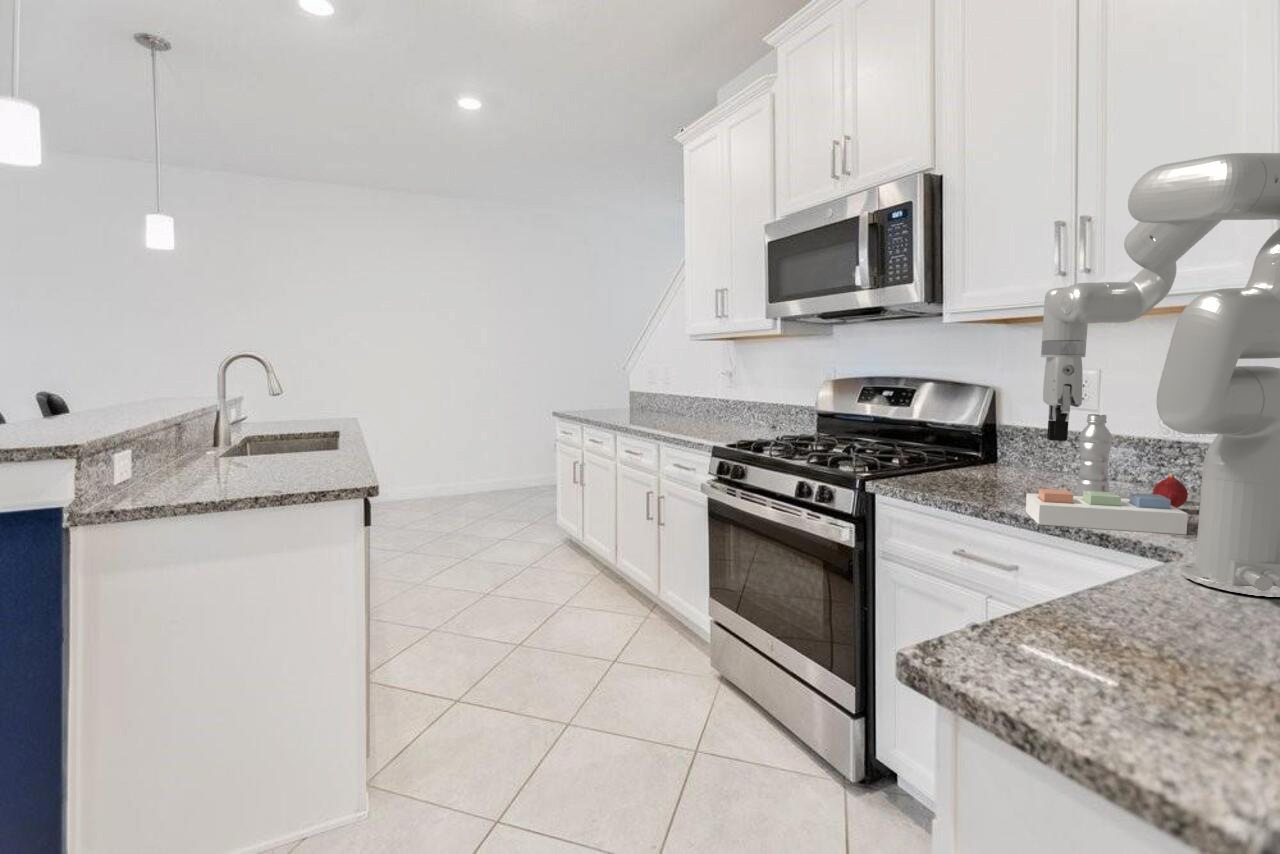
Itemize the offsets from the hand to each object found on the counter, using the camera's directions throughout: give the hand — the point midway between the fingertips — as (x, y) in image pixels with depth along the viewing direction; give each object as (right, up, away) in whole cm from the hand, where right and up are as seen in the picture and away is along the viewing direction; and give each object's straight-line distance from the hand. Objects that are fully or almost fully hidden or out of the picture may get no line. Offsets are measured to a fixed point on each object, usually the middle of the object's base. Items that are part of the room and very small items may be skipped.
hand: (1056, 440), depth 131 cm
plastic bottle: (+21, -15, +19) cm, 32 cm away
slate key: (+15, -14, -5) cm, 21 cm away
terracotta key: (0, -14, +1) cm, 14 cm away
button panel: (+8, -17, -2) cm, 18 cm away
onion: (+29, -16, +8) cm, 34 cm away
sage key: (+8, -14, -2) cm, 16 cm away
